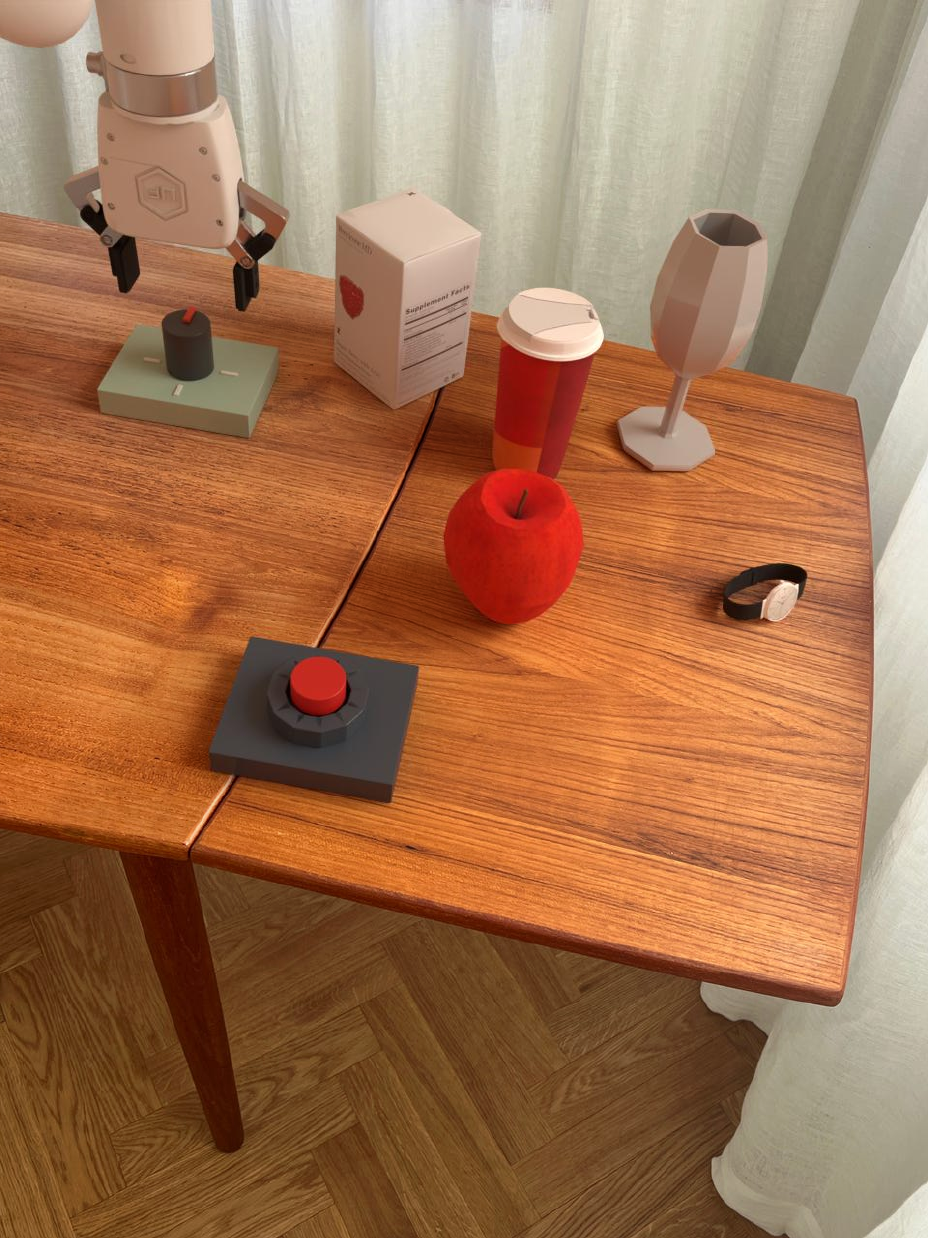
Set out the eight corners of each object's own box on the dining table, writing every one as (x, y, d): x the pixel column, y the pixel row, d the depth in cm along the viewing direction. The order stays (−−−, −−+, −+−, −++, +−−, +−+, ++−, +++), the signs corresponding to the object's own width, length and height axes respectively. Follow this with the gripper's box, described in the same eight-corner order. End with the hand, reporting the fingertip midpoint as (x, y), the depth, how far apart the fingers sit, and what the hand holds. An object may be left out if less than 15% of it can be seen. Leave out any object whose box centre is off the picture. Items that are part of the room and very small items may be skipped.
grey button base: (210, 771, 73) (206, 735, 70) (251, 655, 79) (249, 618, 76) (391, 803, 72) (394, 769, 69) (417, 684, 79) (421, 648, 76)
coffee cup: (561, 430, 100) (592, 282, 88) (583, 493, 94) (619, 344, 83) (469, 433, 98) (489, 283, 87) (486, 497, 93) (510, 346, 82)
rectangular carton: (330, 362, 103) (331, 211, 92) (403, 330, 107) (413, 183, 96) (392, 413, 99) (402, 262, 88) (467, 378, 103) (484, 230, 92)
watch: (742, 640, 85) (756, 608, 82) (702, 599, 87) (715, 567, 85) (814, 606, 88) (829, 574, 85) (773, 567, 91) (788, 535, 88)
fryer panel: (100, 413, 95) (96, 387, 93) (140, 346, 102) (136, 321, 100) (249, 438, 95) (248, 413, 93) (279, 370, 101) (278, 345, 99)
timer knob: (206, 384, 95) (201, 336, 91) (160, 376, 95) (154, 328, 91) (219, 357, 98) (216, 310, 94) (175, 350, 98) (169, 302, 94)
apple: (410, 603, 84) (421, 482, 75) (493, 540, 89) (513, 420, 80) (511, 677, 80) (535, 559, 71) (591, 606, 86) (624, 488, 77)
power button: (284, 710, 72) (284, 694, 71) (298, 668, 74) (297, 651, 73) (339, 720, 72) (339, 704, 71) (350, 677, 74) (351, 661, 73)
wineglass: (646, 483, 96) (710, 266, 80) (598, 422, 101) (650, 206, 85) (730, 463, 99) (807, 249, 83) (679, 404, 104) (743, 192, 88)
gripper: (21, 84, 76) (67, 302, 89) (269, 121, 75) (279, 335, 88) (63, 41, 81) (101, 253, 94) (296, 75, 80) (302, 284, 93)
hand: (187, 293), depth 91 cm, fingers open, 9 cm apart
